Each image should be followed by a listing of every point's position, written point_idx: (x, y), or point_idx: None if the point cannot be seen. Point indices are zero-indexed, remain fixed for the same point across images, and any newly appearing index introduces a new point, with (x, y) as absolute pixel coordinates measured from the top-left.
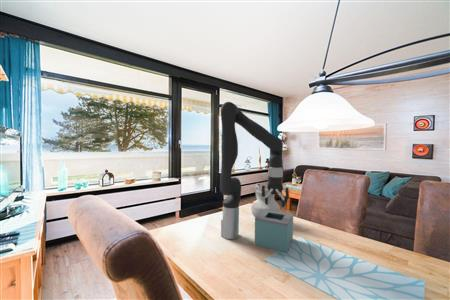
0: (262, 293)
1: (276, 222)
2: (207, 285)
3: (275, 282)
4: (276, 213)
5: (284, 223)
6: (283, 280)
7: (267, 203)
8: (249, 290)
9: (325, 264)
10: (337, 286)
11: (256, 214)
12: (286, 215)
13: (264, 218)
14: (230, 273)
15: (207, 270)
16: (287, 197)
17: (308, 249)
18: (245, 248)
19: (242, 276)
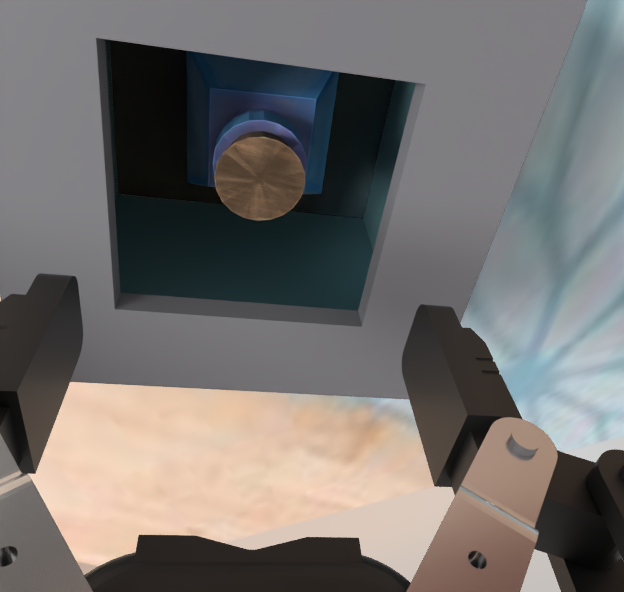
0: (277, 522)
1: (305, 390)
2: (71, 551)
3: (317, 472)
4: (265, 61)
5: (396, 397)
6: (350, 454)
7: (73, 345)
8: (228, 526)
9: (603, 281)
10: (576, 416)
11: None
12: (452, 106)
13: (137, 347)
14: (113, 488)
15: None
16: (595, 577)
17: (560, 121)
18: None
19: (173, 486)
